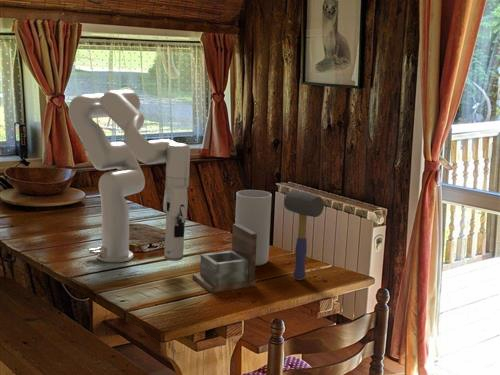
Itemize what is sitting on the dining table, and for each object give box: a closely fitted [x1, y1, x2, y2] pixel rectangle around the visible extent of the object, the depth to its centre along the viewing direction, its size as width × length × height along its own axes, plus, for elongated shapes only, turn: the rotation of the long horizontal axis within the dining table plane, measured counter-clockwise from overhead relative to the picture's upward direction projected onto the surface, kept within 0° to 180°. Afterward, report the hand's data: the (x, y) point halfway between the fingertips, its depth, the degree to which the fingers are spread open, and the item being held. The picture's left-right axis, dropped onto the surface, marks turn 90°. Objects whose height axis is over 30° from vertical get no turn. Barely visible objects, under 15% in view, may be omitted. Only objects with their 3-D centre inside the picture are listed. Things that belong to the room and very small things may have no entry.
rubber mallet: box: [283, 190, 325, 281], centre depth 218 cm, size 12×8×30 cm, turn 46°
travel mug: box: [163, 202, 186, 262], centre depth 217 cm, size 6×7×20 cm
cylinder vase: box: [234, 189, 273, 267], centre depth 235 cm, size 12×12×25 cm
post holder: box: [192, 223, 257, 294], centre depth 213 cm, size 16×14×18 cm
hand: (174, 233), depth 217 cm, fingers closed on travel mug, 6 cm apart
